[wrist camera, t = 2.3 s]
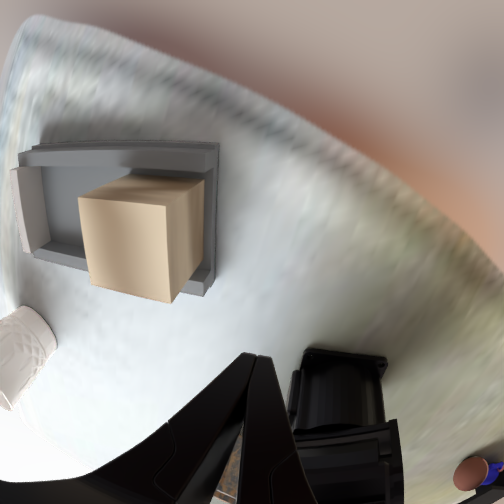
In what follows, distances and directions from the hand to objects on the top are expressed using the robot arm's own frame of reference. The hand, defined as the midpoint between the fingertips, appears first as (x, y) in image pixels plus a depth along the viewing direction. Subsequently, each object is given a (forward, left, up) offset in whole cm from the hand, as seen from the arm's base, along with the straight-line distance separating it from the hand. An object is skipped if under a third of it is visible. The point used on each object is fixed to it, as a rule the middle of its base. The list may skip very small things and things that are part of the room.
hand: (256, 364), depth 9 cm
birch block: (+7, 0, -10) cm, 13 cm away
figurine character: (-33, +30, -11) cm, 46 cm away
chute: (+12, 0, -11) cm, 16 cm away
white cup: (+27, +16, -11) cm, 33 cm away
